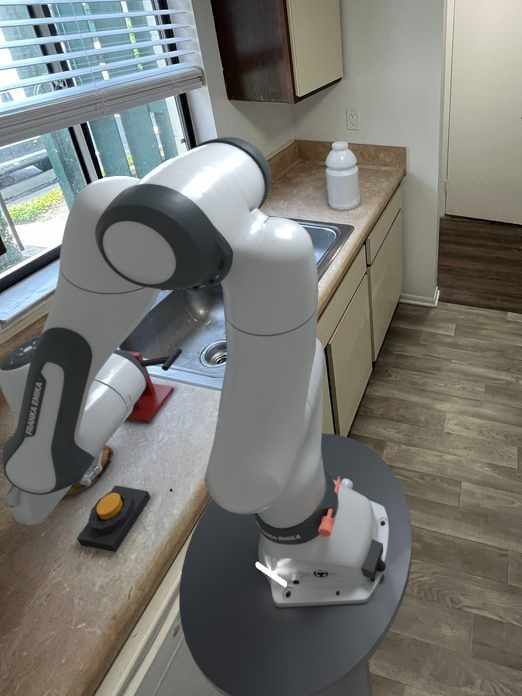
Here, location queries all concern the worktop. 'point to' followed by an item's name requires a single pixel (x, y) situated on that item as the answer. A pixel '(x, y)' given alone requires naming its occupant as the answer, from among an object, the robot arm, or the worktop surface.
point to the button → (109, 506)
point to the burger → (105, 463)
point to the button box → (114, 520)
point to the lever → (162, 360)
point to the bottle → (342, 177)
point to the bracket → (149, 398)
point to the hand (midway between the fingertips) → (92, 476)
